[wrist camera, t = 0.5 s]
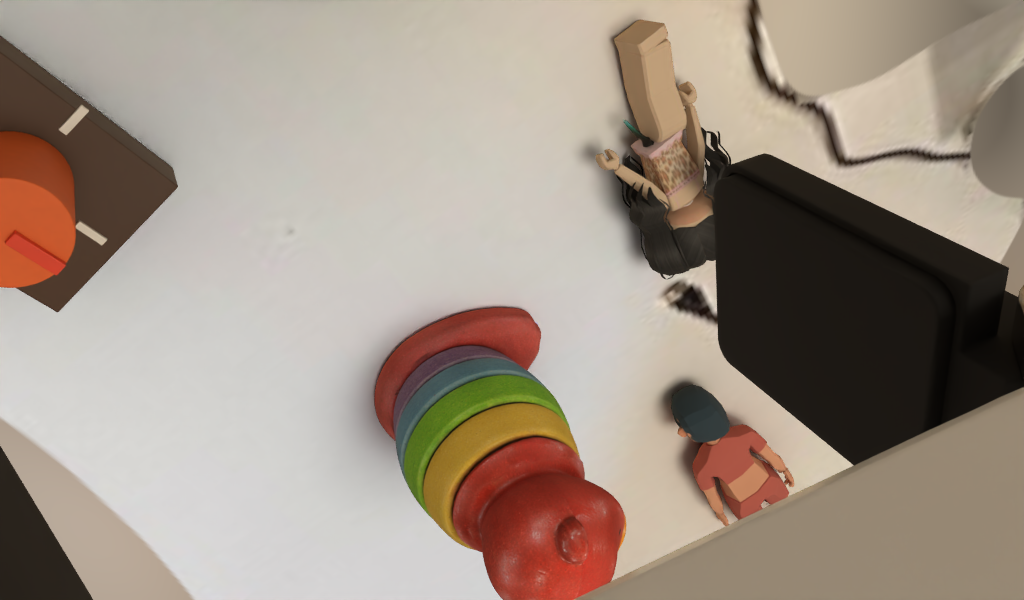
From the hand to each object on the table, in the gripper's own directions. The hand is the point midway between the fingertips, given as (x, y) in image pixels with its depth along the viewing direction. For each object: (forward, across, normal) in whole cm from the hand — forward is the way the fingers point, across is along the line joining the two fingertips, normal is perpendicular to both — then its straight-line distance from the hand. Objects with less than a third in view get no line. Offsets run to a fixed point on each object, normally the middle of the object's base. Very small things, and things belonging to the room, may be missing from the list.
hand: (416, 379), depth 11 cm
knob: (+31, +9, +6) cm, 33 cm away
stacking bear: (+34, -8, +26) cm, 43 cm away
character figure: (+34, -29, +44) cm, 63 cm away
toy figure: (+34, -23, +15) cm, 43 cm away
